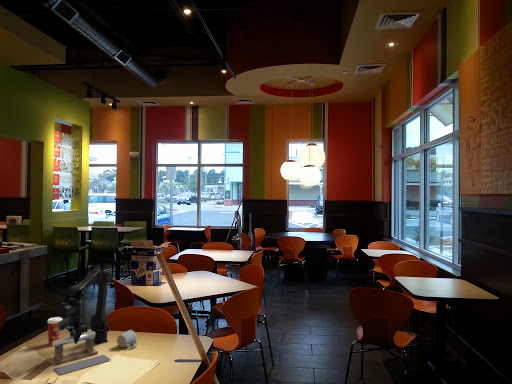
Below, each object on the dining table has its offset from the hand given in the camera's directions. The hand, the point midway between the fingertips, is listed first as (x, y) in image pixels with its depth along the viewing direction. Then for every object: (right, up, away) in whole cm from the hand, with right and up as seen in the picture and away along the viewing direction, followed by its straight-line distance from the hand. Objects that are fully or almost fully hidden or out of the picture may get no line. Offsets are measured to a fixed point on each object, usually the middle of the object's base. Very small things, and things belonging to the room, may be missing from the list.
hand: (74, 343), depth 191 cm
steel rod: (0, 0, 0) cm, 0 cm away
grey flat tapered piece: (+8, -7, -9) cm, 14 cm away
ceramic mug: (+22, -9, +16) cm, 29 cm away
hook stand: (0, -7, 0) cm, 7 cm away
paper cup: (-20, -8, +18) cm, 28 cm away
